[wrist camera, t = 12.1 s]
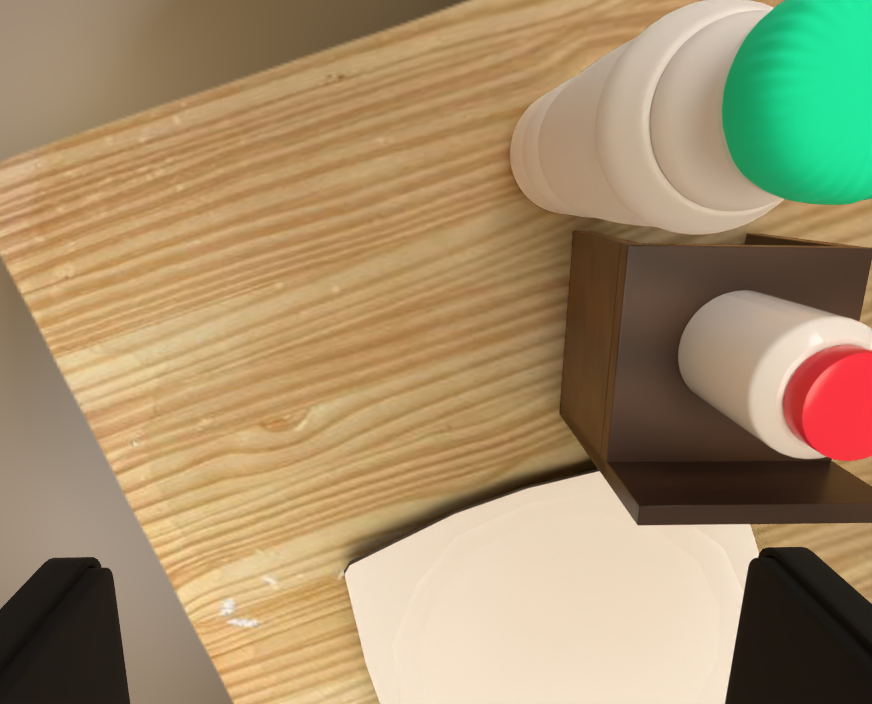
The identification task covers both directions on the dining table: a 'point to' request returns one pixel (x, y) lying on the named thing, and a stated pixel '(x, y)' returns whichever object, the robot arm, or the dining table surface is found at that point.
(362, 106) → the dining table surface
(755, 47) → the water bottle
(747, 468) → the wooden block chair
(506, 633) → the plate
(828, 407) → the pill bottle
